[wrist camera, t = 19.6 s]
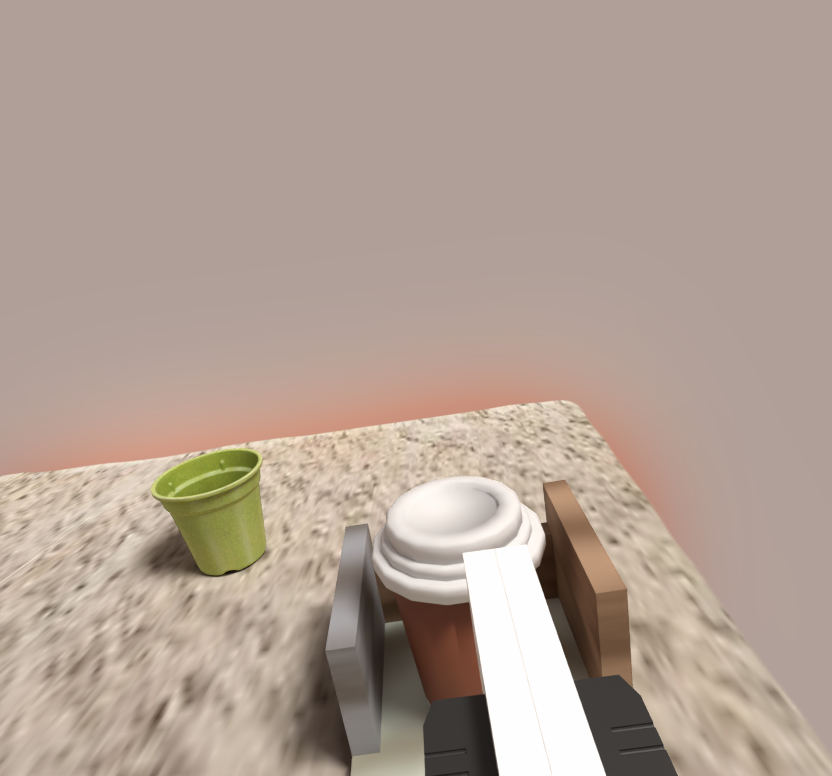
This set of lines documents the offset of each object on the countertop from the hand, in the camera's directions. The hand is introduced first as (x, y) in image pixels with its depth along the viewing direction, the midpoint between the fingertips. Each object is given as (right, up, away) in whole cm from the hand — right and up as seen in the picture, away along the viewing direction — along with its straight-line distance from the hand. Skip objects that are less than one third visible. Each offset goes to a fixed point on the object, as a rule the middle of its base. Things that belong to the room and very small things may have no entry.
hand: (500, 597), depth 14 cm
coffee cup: (+2, -13, +21) cm, 24 cm away
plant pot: (-19, -11, +40) cm, 46 cm away
